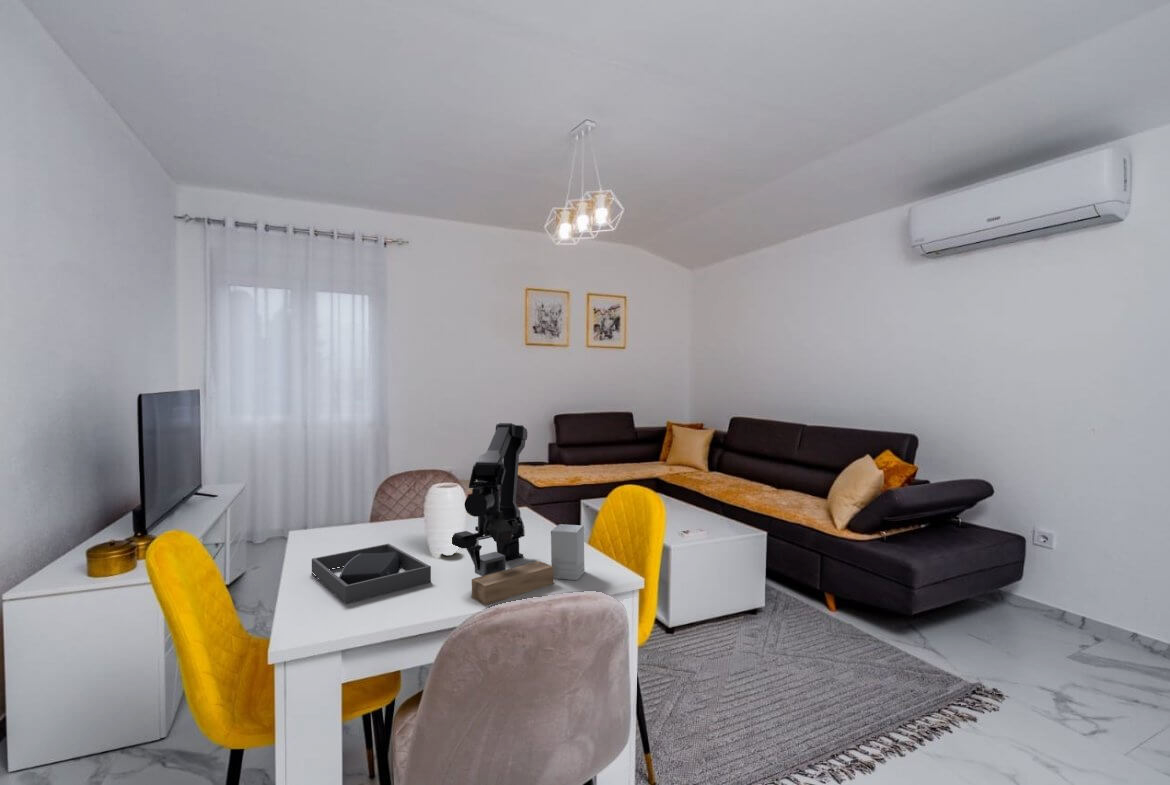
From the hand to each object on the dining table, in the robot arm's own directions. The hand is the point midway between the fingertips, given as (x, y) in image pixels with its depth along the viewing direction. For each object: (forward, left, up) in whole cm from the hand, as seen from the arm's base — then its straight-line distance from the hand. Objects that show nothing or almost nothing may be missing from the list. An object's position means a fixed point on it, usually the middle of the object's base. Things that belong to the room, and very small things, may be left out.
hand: (489, 567), depth 139 cm
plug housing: (0, 0, -1) cm, 1 cm away
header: (+9, 0, -3) cm, 10 cm away
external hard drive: (-22, -23, -3) cm, 32 cm away
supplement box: (+12, +17, -3) cm, 21 cm away
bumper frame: (-22, -23, -3) cm, 32 cm away
